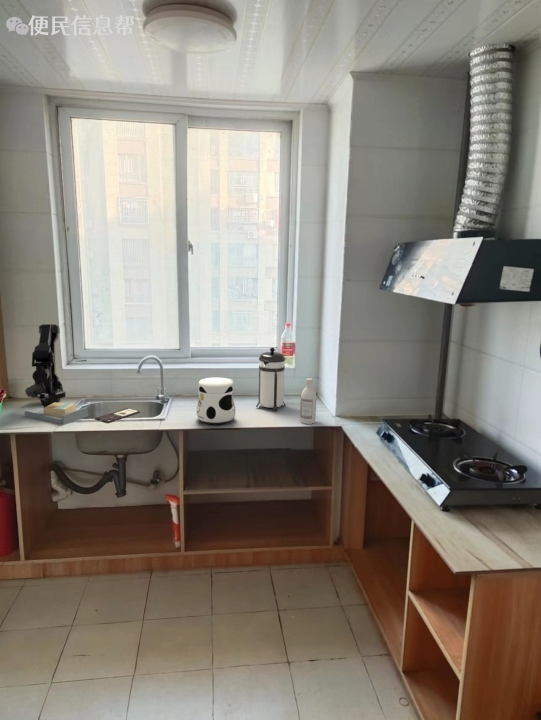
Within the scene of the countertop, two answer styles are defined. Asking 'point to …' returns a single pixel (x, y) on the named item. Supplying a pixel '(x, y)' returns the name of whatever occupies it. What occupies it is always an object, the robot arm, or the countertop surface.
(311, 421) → the bath foam
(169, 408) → the countertop surface
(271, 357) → the coffee press
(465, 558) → the countertop surface
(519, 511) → the countertop surface
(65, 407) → the carton
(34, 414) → the grey tray
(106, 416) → the chocolate bar
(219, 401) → the milk container
